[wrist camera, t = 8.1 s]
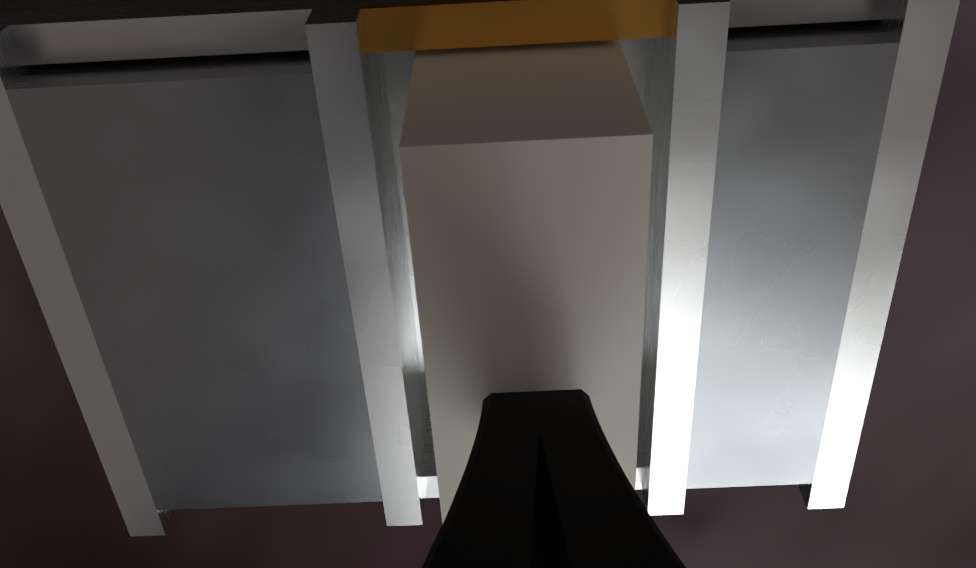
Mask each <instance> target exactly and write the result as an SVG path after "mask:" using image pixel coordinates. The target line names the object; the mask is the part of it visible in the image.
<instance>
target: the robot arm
mask: <svg viewBox="0 0 976 568" xmlns="http://www.w3.org/2000/svg"><path fill="white" fill-rule="evenodd" d="M422 568H686V567H685V566H684V564H683V563H682V561H681V560H680V559H679V557H678V556H677V554H676V553H675V552H674V550H673V549H672V547H671V546H670V544H669V543H668V542H667V540H666V539H665V537H664V536H663V534H662V533H661V531H660V530H659V528H658V527H657V525H656V524H655V522H654V521H653V519H652V518H651V516H650V515H649V513H648V512H647V510H646V508H645V507H644V505H643V503H642V502H641V500H640V498H639V497H638V495H637V493H636V492H635V490H634V488H633V487H632V485H631V483H630V482H629V480H628V478H627V477H626V475H625V473H624V471H623V469H622V468H621V466H620V464H619V462H618V460H617V458H616V456H615V455H614V453H613V451H612V449H611V447H610V445H609V443H608V441H607V439H606V437H605V435H604V432H603V430H602V428H601V426H600V424H599V421H598V419H597V417H596V414H595V411H594V409H593V406H592V403H591V400H590V397H589V395H588V394H586V393H585V392H584V391H583V390H582V389H572V390H549V391H526V392H503V393H490V394H489V395H488V396H487V397H486V398H485V399H483V403H482V411H481V417H480V421H479V426H478V430H477V434H476V437H475V441H474V444H473V447H472V450H471V453H470V456H469V459H468V462H467V465H466V468H465V471H464V473H463V476H462V478H461V481H460V484H459V486H458V489H457V491H456V494H455V496H454V499H453V501H452V504H451V506H450V509H449V511H448V513H447V516H446V518H445V520H444V522H443V524H442V526H441V528H440V531H439V533H438V535H437V537H436V539H435V541H434V543H433V545H432V547H431V549H430V551H429V553H428V556H427V558H426V560H425V562H424V564H423V566H422Z"/></svg>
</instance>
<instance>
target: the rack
mask: <svg viewBox="0 0 976 568" xmlns="http://www.w3.org/2000/svg"><path fill="white" fill-rule="evenodd" d="M959 3H960V0H1V1H0V205H1V207H2V210H3V212H4V215H5V217H6V220H7V222H8V225H9V228H10V230H11V233H12V235H13V238H14V240H15V243H16V245H17V248H18V251H19V253H20V256H21V258H22V261H23V263H24V266H25V268H26V271H27V274H28V276H29V279H30V281H31V284H32V286H33V289H34V291H35V294H36V297H37V299H38V302H39V304H40V307H41V309H42V312H43V314H44V317H45V319H46V322H47V325H48V327H49V330H50V332H51V335H52V337H53V340H54V342H55V345H56V348H57V350H58V353H59V355H60V358H61V360H62V363H63V365H64V368H65V371H66V373H67V376H68V378H69V381H70V383H71V386H72V388H73V391H74V394H75V396H76V399H77V401H78V404H79V406H80V409H81V411H82V414H83V417H84V419H85V422H86V424H87V427H88V429H89V432H90V434H91V437H92V440H93V442H94V445H95V447H96V450H97V452H98V455H99V457H100V460H101V463H102V465H103V468H104V470H105V473H106V475H107V478H108V480H109V483H110V485H111V488H112V491H113V493H114V496H115V498H116V501H117V503H118V506H119V508H120V511H121V514H122V516H123V519H124V521H125V524H126V526H127V529H128V531H129V534H130V537H132V536H156V535H166V532H167V530H168V527H169V524H170V521H171V519H172V516H173V513H174V510H181V509H206V508H230V507H254V506H278V505H303V504H327V503H351V502H376V501H383V504H384V510H385V516H386V522H387V526H404V525H423V513H424V498H439V489H438V480H437V472H436V463H435V454H434V446H433V437H432V428H431V420H430V411H429V402H428V394H427V385H426V376H425V368H424V359H423V351H422V342H421V333H420V325H419V316H418V307H417V299H416V290H415V281H414V273H413V264H412V255H411V247H410V238H409V230H408V221H407V212H406V204H405V195H404V186H403V178H402V169H401V160H400V152H399V144H400V138H401V133H402V127H403V121H404V115H405V109H406V104H407V98H408V92H409V86H410V80H411V75H412V69H413V63H414V57H415V51H416V50H434V49H452V48H471V47H490V46H509V45H528V44H546V43H565V42H584V41H603V40H619V42H620V45H621V48H622V50H623V53H624V56H625V58H626V61H627V64H628V67H629V69H630V72H631V75H632V78H633V80H634V83H635V86H636V89H637V91H638V94H639V97H640V100H641V102H642V105H643V108H644V111H645V113H646V116H647V119H648V122H649V124H650V127H651V130H652V133H653V148H652V168H651V188H650V208H649V227H648V247H647V267H646V287H645V307H644V327H643V347H642V367H641V386H640V406H639V426H638V446H637V466H636V486H635V489H642V490H643V496H644V501H645V506H646V510H647V512H648V513H649V515H650V516H651V515H676V514H683V513H684V502H685V492H686V489H692V488H716V487H741V486H765V485H789V484H798V486H799V489H800V491H801V494H802V496H803V499H804V502H805V504H806V507H807V509H824V508H844V504H845V500H846V495H847V491H848V487H849V482H850V478H851V474H852V469H853V465H854V461H855V456H856V452H857V448H858V443H859V439H860V434H861V430H862V426H863V421H864V417H865V413H866V408H867V404H868V400H869V395H870V391H871V386H872V382H873V378H874V373H875V369H876V365H877V360H878V356H879V352H880V347H881V343H882V338H883V334H884V330H885V325H886V321H887V317H888V312H889V308H890V304H891V299H892V295H893V291H894V286H895V282H896V277H897V273H898V269H899V264H900V260H901V256H902V251H903V247H904V243H905V238H906V234H907V229H908V225H909V221H910V216H911V212H912V208H913V203H914V199H915V195H916V190H917V186H918V181H919V177H920V173H921V168H922V164H923V160H924V155H925V151H926V147H927V142H928V138H929V133H930V129H931V125H932V120H933V116H934V112H935V107H936V103H937V99H938V94H939V90H940V86H941V81H942V77H943V72H944V68H945V64H946V59H947V55H948V51H949V46H950V42H951V38H952V33H953V29H954V24H955V20H956V16H957V11H958V7H959Z"/></svg>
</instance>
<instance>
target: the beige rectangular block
mask: <svg viewBox="0 0 976 568" xmlns="http://www.w3.org/2000/svg"><path fill="white" fill-rule="evenodd" d="M652 148H653V133H652V130H651V127H650V124H649V122H648V119H647V116H646V113H645V111H644V108H643V105H642V102H641V100H640V97H639V94H638V91H637V89H636V86H635V83H634V80H633V78H632V75H631V72H630V69H629V67H628V64H627V61H626V58H625V56H624V53H623V50H622V48H621V45H620V42H619V40H603V41H584V42H565V43H546V44H528V45H509V46H490V47H471V48H452V49H434V50H416V51H415V57H414V63H413V69H412V75H411V80H410V86H409V92H408V98H407V104H406V109H405V115H404V121H403V127H402V133H401V138H400V144H399V152H400V160H401V169H402V178H403V186H404V195H405V204H406V212H407V221H408V230H409V238H410V247H411V255H412V264H413V273H414V281H415V290H416V299H417V307H418V316H419V325H420V333H421V342H422V351H423V359H424V368H425V376H426V385H427V394H428V402H429V411H430V420H431V428H432V437H433V446H434V454H435V463H436V472H437V480H438V489H439V497H440V506H441V515H442V523H443V522H444V520H445V518H446V516H447V513H448V511H449V509H450V506H451V504H452V501H453V499H454V496H455V494H456V491H457V489H458V486H459V484H460V481H461V478H462V476H463V473H464V471H465V468H466V465H467V462H468V459H469V456H470V453H471V450H472V447H473V444H474V441H475V437H476V434H477V430H478V426H479V421H480V417H481V411H482V403H483V399H485V398H486V397H487V396H488V395H489V394H490V393H503V392H526V391H549V390H572V389H582V390H583V391H584V392H585V393H586V394H588V395H589V397H590V400H591V403H592V406H593V409H594V411H595V414H596V417H597V419H598V421H599V424H600V426H601V428H602V430H603V432H604V435H605V437H606V439H607V441H608V443H609V445H610V447H611V449H612V451H613V453H614V455H615V456H616V458H617V460H618V462H619V464H620V466H621V468H622V469H623V471H624V473H625V475H626V477H627V478H628V480H629V482H630V483H631V485H632V487H633V488H634V490H635V486H636V466H637V446H638V426H639V406H640V386H641V367H642V347H643V327H644V307H645V287H646V267H647V247H648V227H649V208H650V188H651V168H652Z"/></svg>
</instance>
